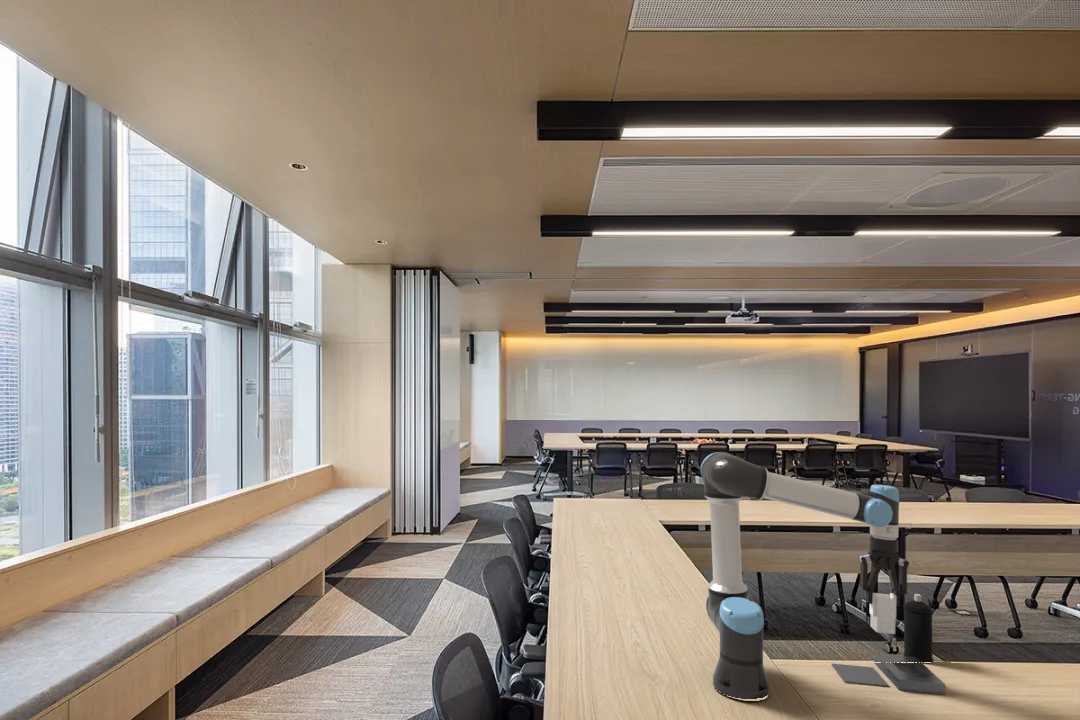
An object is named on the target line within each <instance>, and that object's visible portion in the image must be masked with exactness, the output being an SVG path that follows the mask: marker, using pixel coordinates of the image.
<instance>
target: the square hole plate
mask: <svg viewBox="0 0 1080 720" xmlns="http://www.w3.org/2000/svg"><path fill="white" fill-rule="evenodd" d="M874 662H881V663H874ZM886 662H887V663H886ZM890 662H891V663H890ZM894 662H895V663H894ZM897 662H899V663H897ZM901 662H906V663H901ZM907 662H914V663H907ZM915 662H917V663H915ZM919 662H920V661H919V660H918V659H917V658H916V657H910V656H904V655H898V654H897V655H896V654H886V653H876V652H875V653H873V663H874V665H875V666H876V667H877V668H878V669H879V670H880V671H881V672H882V673H883V674H884V676H885V677H886V678H887V679H888V680H889V681H890V682H891V683H892V685H893V686H894V687H895V688H896V689H897V690H898V691H903V692H913V693H922V694H933V695H943V696H945V695H946V683H944V681H943V680H942V679H941V678H939V677H938V676H937V675H936V674H935V673H933V672H932V671H931V669H929V668H928V667H927V666H926V665H925V663H921V662H920V663H919Z"/></svg>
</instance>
